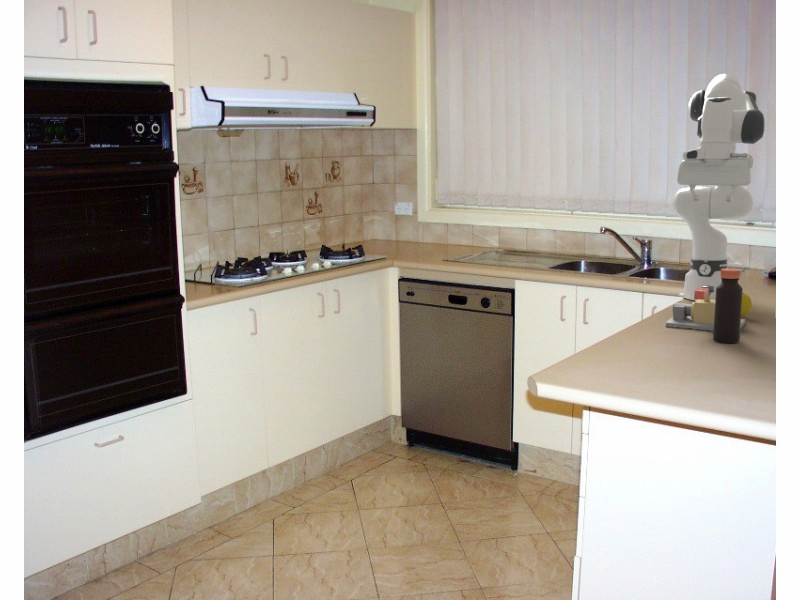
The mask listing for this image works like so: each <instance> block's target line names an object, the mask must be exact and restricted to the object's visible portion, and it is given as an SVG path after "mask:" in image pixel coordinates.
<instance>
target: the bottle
mask: <svg viewBox="0 0 800 600" xmlns="http://www.w3.org/2000/svg"><path fill="white" fill-rule="evenodd" d="M740 276H741V270H740V269H739V268H728V267H727V268H725V269H721V276H720V277H721V279H722V280H721V283H720V284H719V285H718V286H717V287H716V298H715V315H714V331H712V332H713V334H712V335H713V336H712V339H713V341H714V342H716V343H720V344H737V343H739V341H740V337H741V335H740V333H741V329H740V322H741V319H742V318H741V306H742V293H743V287H742V285H741V284H740V283H739V280H740Z"/></svg>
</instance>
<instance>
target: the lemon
mask: <svg viewBox="0 0 800 600" xmlns="http://www.w3.org/2000/svg"><path fill="white" fill-rule="evenodd" d="M752 305H753V304H752V299H751V297H750V296H749V295H748V294H746V293H744V292H742V306H741V319H743V317H745V316H747V315H749V313H750V312H751V311H752Z"/></svg>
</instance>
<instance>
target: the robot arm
mask: <svg viewBox="0 0 800 600" xmlns="http://www.w3.org/2000/svg"><path fill="white" fill-rule="evenodd" d="M687 108H688V114H689V117H690V119H691V120H692V121H693V122H697V131H696V133H697V134H696V136H698V138H699V139H700V140H699V146H698V147H697V148H694V149H691V150H687V151H685V152H683V153H682V159H683V160H682V161H681V162H680V164H679V167H678V172H677V178H676V181H677V183H678V184H679V186H688V187H684V188H680V189H678V190H677V192H676V193H675V194H674V197H673V199H672V206H673V207H672V208H673V210H674V212H675V214H676V215H677V216H678V217H680V218H681V219H682V220H683V221H684V222H685V223H686V225H687V226H688V228H689V230H690V233H691V237H692V239H691V240H692V252H691V253H692V257H691V258H690V263H689V264H690V270H689V271H688V272H687V273H685V277H684V286H683V287H684V288H683V292H680V293H678V296H679V297H681V298H685V299H687V300H691V301H694V302H695V301H697V300H698V299H694V293H695V290H696V289H698V288H701V286H703V285H710V286H714V292H712V293H711V296H710V300H715V298H716V287H717V286H718V285H719V284H720V283H721V280H722V279H721V277H720V276H721V269H725V268H728V260H727V247H728V245H727V244H728V239H727V238H728V237H727V236H726V235H725V233H724V232H722V231H721V230H719V229H717V228H715V227H713V226H712V225H711V223H710V220H738V219H742V218H746V217H747V216H748V215H749V214H750V212H751V211H752V209H753V205H754V204H753V203H754V200H753V196H752V194H751V193H750V191H749V190H748V189H746V188H745V187H746V186H749V185H750V184H751V182H752V172H751V169H752V168H753V165H754V163H753V162H754V158H753V157H752V155H750V154H748V153H746V152H745V153H738V152H737V153H736V148H737V147H736V146H737V144H748V145H749V144H750V145H754V144H756V143H757V142H759V141H760V140H761V139H763V137H764V134H765V131H766V119H765V115H764V114H763V113H762V111H761V110H760V109H759V100H758V98H757V95H756V94H755V92H753V91H749V90H748V91H747V90H744V91H742V87H741V84H740V81H739V80H738V79H737V77H735V76H734V75H732V74H728V73H722V74H719V75H717V76H715V77H714V78H713V79H712V80H711V81H710V83H709V84H708V86H707V88H706V89H705V88H701V90H698V91H695V93H693V94H692V97H691V98H690V100H689V102H688V107H687Z"/></svg>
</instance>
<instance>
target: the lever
mask: <svg viewBox="0 0 800 600" xmlns="http://www.w3.org/2000/svg"><path fill="white" fill-rule="evenodd" d="M712 292H714V286H710V285H703V286H701V288H698V289H696V290H695V293H694V299H699V300H704V299H705V298H706V297H708V294H709V293H712Z"/></svg>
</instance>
